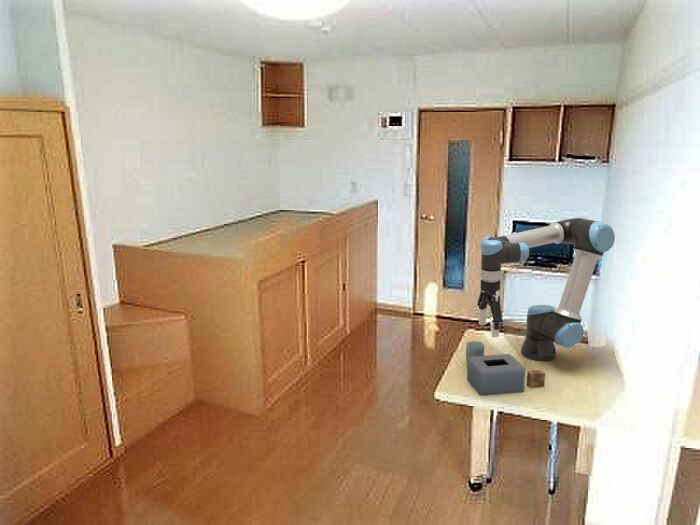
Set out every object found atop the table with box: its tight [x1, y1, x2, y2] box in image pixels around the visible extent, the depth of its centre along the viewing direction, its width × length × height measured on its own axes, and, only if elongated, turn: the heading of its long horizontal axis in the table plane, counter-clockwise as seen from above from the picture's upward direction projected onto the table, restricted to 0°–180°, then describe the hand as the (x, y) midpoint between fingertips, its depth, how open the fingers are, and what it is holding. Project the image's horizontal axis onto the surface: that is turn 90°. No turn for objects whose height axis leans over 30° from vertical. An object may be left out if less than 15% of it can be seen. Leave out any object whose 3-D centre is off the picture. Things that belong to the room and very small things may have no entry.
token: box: [526, 369, 546, 389], centre depth 207 cm, size 6×3×6 cm, turn 98°
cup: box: [465, 340, 485, 365], centre depth 225 cm, size 8×8×10 cm
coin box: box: [466, 353, 526, 397], centre depth 207 cm, size 18×14×10 cm
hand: (488, 330), depth 207 cm, fingers open, 13 cm apart
